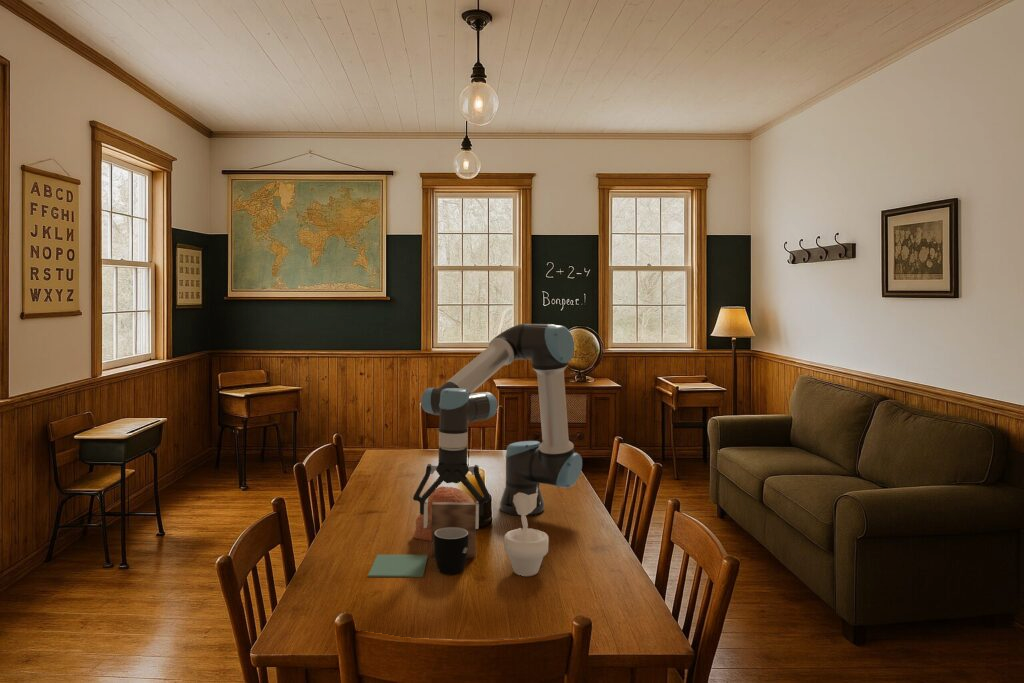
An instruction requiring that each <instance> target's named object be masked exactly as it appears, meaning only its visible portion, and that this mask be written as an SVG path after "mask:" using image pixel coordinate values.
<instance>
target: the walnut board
mask: <svg viewBox="0 0 1024 683" xmlns="http://www.w3.org/2000/svg"><path fill="white" fill-rule="evenodd" d="M446 527H458V528H463V529H465V530H467V531H468V550H467V558H466V559H475V558H476V529H475V528H476V502H474V503H468V502H433V503H432V541H431V551H430V552H431V554H430V555H431V558H433V559H436V557H435V546H434V533H435V531H437V530H438V529H441V528H446Z"/></svg>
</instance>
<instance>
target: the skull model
mask: <svg viewBox="0 0 1024 683" xmlns="http://www.w3.org/2000/svg"><path fill="white" fill-rule="evenodd" d="M427 501H428V525H427V528H424V515H420V514H419V515H417V517H416V519H415V528H414V532H413V537H414V538H415V539H417V540H422V541H431V542H432V503H433V502H468V503H475V501H474V499H473V498H472V497H471V496H470V495H469V494H468V493H466V492H464V491H463V490H461V489H459V488H457V487H452V486H449V487H448V486H438V487H437V488H436V489H435V490H434V492H433V493H432V494H431V495H430V496H429V497H428V498H427Z"/></svg>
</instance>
